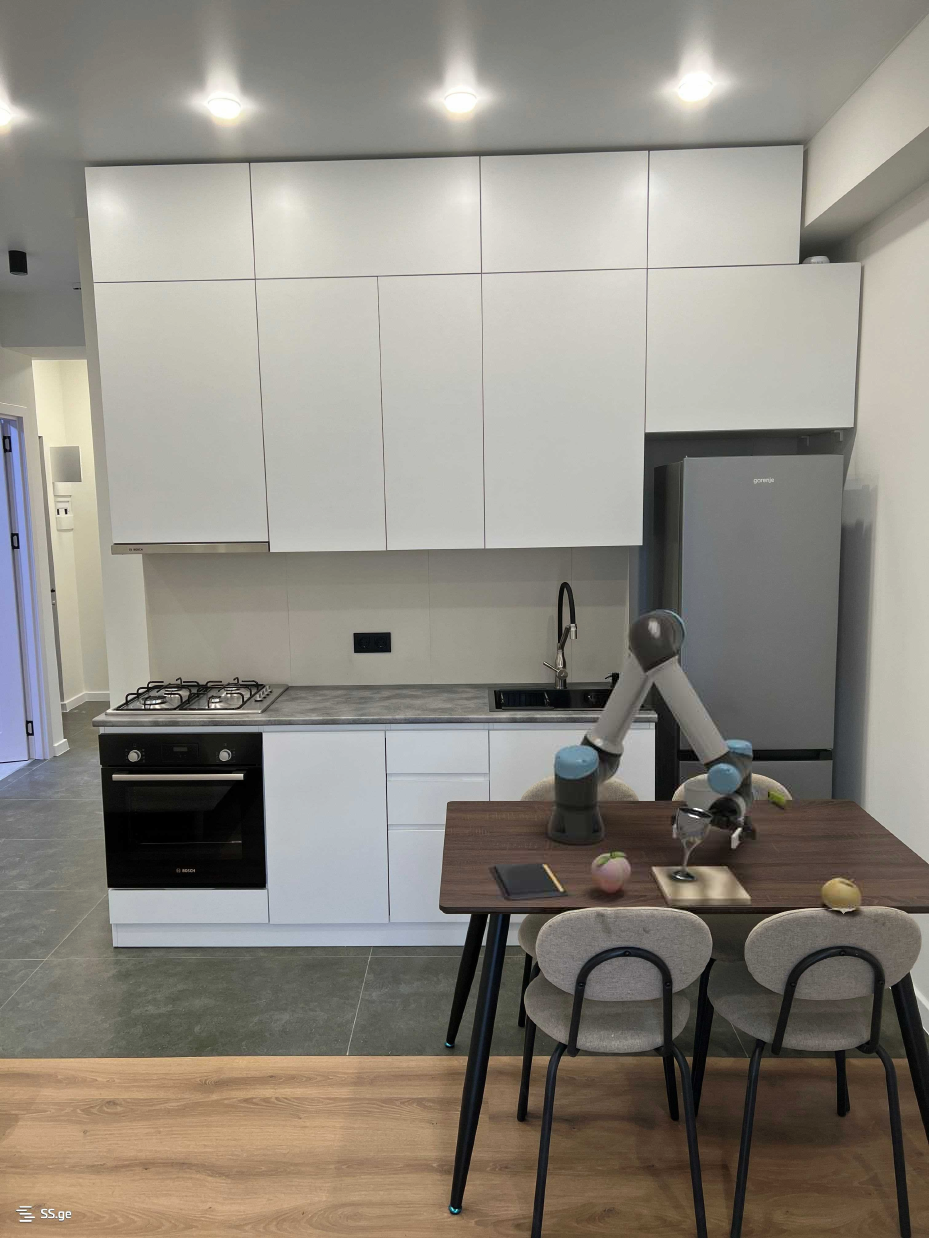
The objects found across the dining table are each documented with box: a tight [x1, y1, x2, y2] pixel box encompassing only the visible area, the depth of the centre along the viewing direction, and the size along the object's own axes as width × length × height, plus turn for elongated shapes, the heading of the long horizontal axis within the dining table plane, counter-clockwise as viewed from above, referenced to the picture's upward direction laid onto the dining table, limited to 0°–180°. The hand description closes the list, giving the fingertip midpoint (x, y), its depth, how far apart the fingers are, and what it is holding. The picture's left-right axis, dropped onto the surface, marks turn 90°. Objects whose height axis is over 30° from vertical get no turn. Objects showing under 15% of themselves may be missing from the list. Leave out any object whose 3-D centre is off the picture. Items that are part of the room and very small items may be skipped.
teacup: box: [683, 776, 721, 811], centre depth 256 cm, size 14×11×8 cm
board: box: [651, 865, 752, 907], centre depth 200 cm, size 18×18×2 cm
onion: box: [820, 877, 862, 909], centre depth 189 cm, size 8×8×7 cm
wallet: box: [488, 862, 570, 902], centre depth 205 cm, size 20×2×15 cm
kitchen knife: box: [752, 784, 787, 805], centre depth 264 cm, size 22×1×3 cm, turn 6°
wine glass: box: [667, 806, 713, 880], centre depth 202 cm, size 8×8×15 cm
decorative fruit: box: [590, 850, 632, 894], centre depth 198 cm, size 9×8×10 cm
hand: (703, 837), depth 200 cm, fingers open, 13 cm apart
